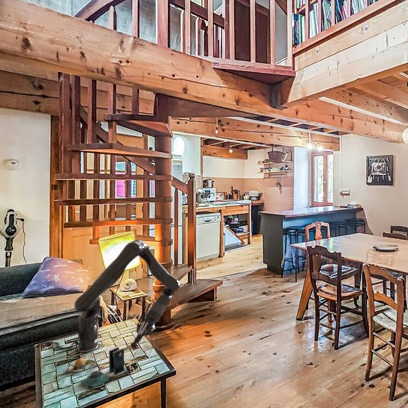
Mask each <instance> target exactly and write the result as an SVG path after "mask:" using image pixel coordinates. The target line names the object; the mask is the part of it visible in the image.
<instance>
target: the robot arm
mask: <svg viewBox="0 0 408 408" xmlns="http://www.w3.org/2000/svg"><path fill="white" fill-rule="evenodd" d="M137 257H140V259H141V260H143V261H144V262H145V264H146V266H147V268H148V270H149V273H150V274H151V275H152V276H153V277H154V278H155V279H156V280H157V281H158V282H159V283H161V284H162V285H164V288H163V289H162V291H161V293H160V295H159V296H158V297H157V299H156V300H155V302H154V303H153V304H152V305H151V307H150V308H149V310H148V311H147V312H146V314H145V315H144V319H143V320H142V321H141V322H137V324H136V332H135V333H137V334H136V336H135V338H134V340H133V342H136V343H137V344H139V343H140V342H141V341H142V339H143V337H147V336H149V335H150V334H152V333H153V332H154V331H155V330H156V327H155V326H156V323H158V322H159V320H160V319H161V317H162V316H163V314H164V313H165V311H166V309H167V307H168V306H169V304H170V303H171V301H172V298H173V297H174V295H175V293H176V292H178V291H179V290H180V288H181V283H180V281H179V280H178V279H177V277H175V276H173V275H172V274H170V273H169V271H168V270H167V269H166V268H165V267H164V266H163V265H162V264H161V263H160V261H158V259H157V258H156V256H155V255H154V254H153V253H152V251H151V250H150V248H149V247H148V245H147V243H146V242H145V241H143V240H142V239H134V240H133V241H130V242H128V243H127V244H125V246H124V247H123V249H122V250H121V252H119V254H118V256H117V257H116V258H115V259H114V260H113V261H112V262H110V264H109V265H108V266H107V267H106V268H104V270H103V271H102V272H101V273H100V274H99V275H98V277H97V278H96V279H95V280H94V282H93V283H91V285H90V286H89V287H88V289H86V290H85V291H84V292H83V293H82V294H81V295H79V297H78V298H76V300H75V301H74V304H73V305H74V309H75V311H77V312H80V314H79V316H78V318H77V328H78V329H77V331H78V333H77V339H74V341H73V342H72V343H71V344H70V346H67V347H63V346H60V343H59V342H57V341H45V342H41V343H39V344H37V345H36V346H35V347H36V348H38V347H40V346H42V345H46V344H54V345H56V349H60V350H67V349H71V348H72V347H73V346H77V351H78V353H88V352H92V351H94V350H96V349H98V348H99V341H100V337H99V315H100V312H101V298H100V296H101V295H102V294H104V293H105V292H106V291H107V290H109V289H110V288H111V287H113V286H114V285H115V284H116V283H117V282H118V281H119V279H120V278H122V276H123V275H124V273H125V272H126V269H127V267H128V265H129V264H131V262H133V260H135V259H136V258H137Z"/></svg>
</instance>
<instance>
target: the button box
mask: <svg viewBox="0 0 408 408" xmlns="http://www.w3.org/2000/svg"><path fill="white" fill-rule="evenodd" d="M108 381H110V378H109V377H108V376H105V375H104V372H102V371H100V376H99V377H97V378H91V374H89V375H88V376H87V377H85V378H83V379H82V380H80V383H81V384H83V385H85V386H89V387H90V388H93V389H94V388H97V387H99V386H100V385H102V384H104V383H106V382H108Z"/></svg>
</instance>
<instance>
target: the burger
mask: <svg viewBox="0 0 408 408" xmlns="http://www.w3.org/2000/svg"><path fill="white" fill-rule="evenodd" d="M91 364H93V365H91ZM96 364H97V362H96V360H95V359H86V358H83V357H79V358H77V359H76V360H75V362H74V363H72V364H70V365H69V366H68V367H67V369H66V373H67V374H77V373H81V372H84V371H85V372H86V371H88V370H89V369H91V368H93V367H94V366H95V365H96ZM89 365H91V366H90V367H88V368H86V367H87V366H89ZM81 369H82V370H81ZM77 370H79V371H77Z"/></svg>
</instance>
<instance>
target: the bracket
mask: <svg viewBox="0 0 408 408" xmlns="http://www.w3.org/2000/svg"><path fill="white" fill-rule="evenodd" d="M116 350H119V351H117V352H114V351H116ZM112 352H114V357H113V355H112ZM108 371H109V372H108V373H109V374H112V373H113V375H114V376H117V375H118V374H121V373H122V372H124V371H125V351H124V348H121V349H120V346H119V347H115V348H113V349H110V350H109V351H108Z"/></svg>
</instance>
